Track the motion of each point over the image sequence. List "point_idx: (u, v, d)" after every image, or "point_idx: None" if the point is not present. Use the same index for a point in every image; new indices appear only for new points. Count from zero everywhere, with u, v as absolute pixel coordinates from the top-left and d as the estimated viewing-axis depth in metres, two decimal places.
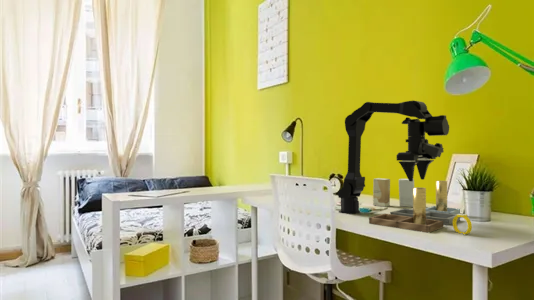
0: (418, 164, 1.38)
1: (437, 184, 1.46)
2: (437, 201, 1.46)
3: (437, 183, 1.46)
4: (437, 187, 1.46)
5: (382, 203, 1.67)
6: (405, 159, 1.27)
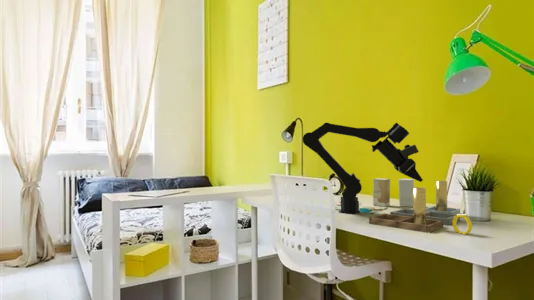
0: None
1: (437, 184, 1.46)
2: (437, 201, 1.46)
3: (437, 183, 1.46)
4: (437, 187, 1.46)
5: (382, 203, 1.67)
6: (409, 166, 1.40)
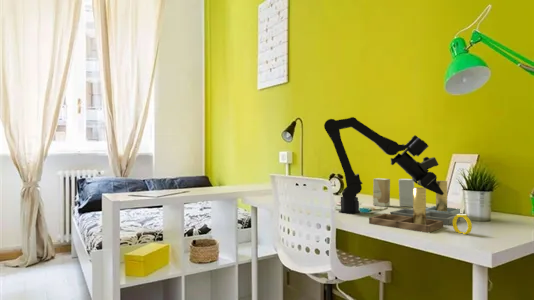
0: None
1: None
2: (437, 201, 1.46)
3: (437, 183, 1.46)
4: None
5: (382, 203, 1.67)
6: (430, 180, 1.39)
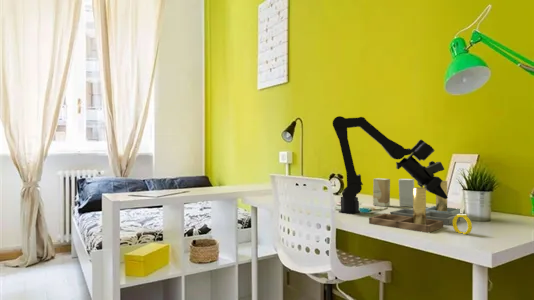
0: None
1: None
2: (437, 201, 1.46)
3: None
4: None
5: (382, 203, 1.67)
6: (436, 185, 1.38)
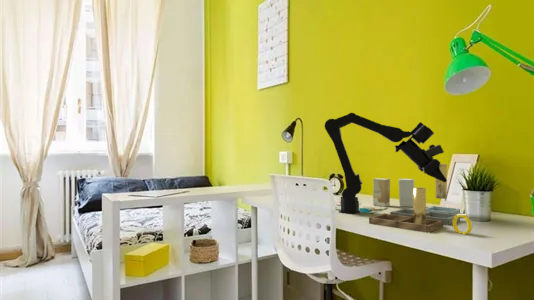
0: None
1: None
2: (436, 184, 1.45)
3: None
4: None
5: (382, 203, 1.67)
6: (434, 167, 1.37)
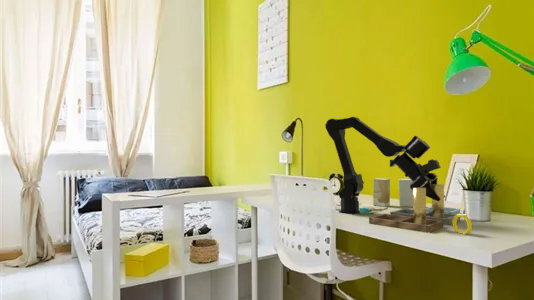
0: None
1: (432, 187, 1.35)
2: (432, 206, 1.35)
3: (432, 186, 1.35)
4: None
5: (382, 203, 1.67)
6: (420, 184, 1.29)
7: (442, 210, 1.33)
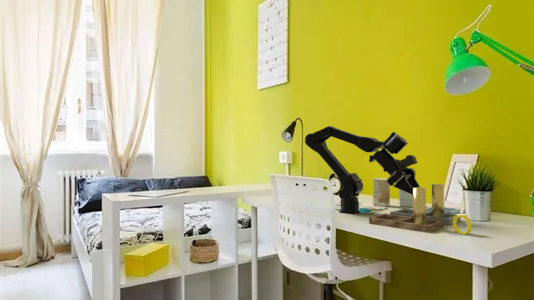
0: None
1: (432, 187, 1.35)
2: (432, 206, 1.35)
3: (432, 186, 1.35)
4: (432, 191, 1.35)
5: (382, 203, 1.67)
6: (396, 178, 1.34)
7: (442, 210, 1.33)
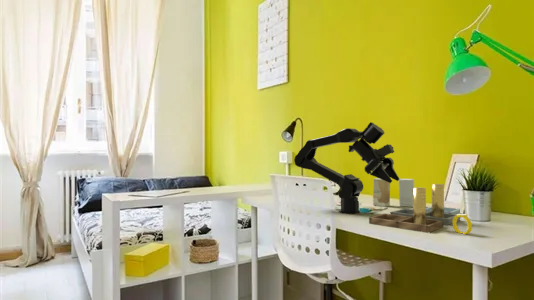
0: (386, 172, 1.50)
1: (432, 187, 1.35)
2: (432, 206, 1.35)
3: (432, 186, 1.35)
4: (432, 191, 1.35)
5: (382, 203, 1.67)
6: (373, 167, 1.38)
7: (442, 210, 1.33)
